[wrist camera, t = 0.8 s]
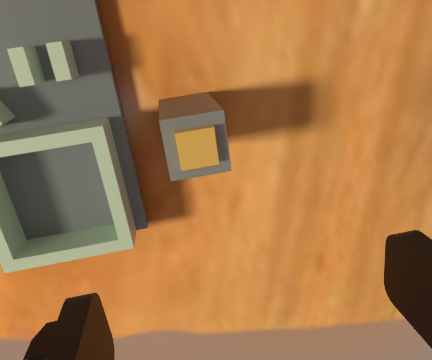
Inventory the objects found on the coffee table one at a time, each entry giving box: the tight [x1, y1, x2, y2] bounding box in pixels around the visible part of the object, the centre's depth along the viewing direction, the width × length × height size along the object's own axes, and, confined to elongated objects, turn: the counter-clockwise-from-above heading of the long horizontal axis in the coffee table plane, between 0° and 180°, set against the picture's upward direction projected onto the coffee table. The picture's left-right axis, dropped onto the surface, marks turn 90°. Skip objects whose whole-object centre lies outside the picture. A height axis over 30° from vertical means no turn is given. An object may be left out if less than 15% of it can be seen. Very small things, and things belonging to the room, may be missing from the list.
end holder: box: [0, 117, 136, 273], centre depth 28 cm, size 10×10×3 cm
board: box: [0, 0, 148, 240], centre depth 27 cm, size 12×19×4 cm, turn 8°
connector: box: [159, 92, 231, 181], centre depth 26 cm, size 4×4×9 cm
